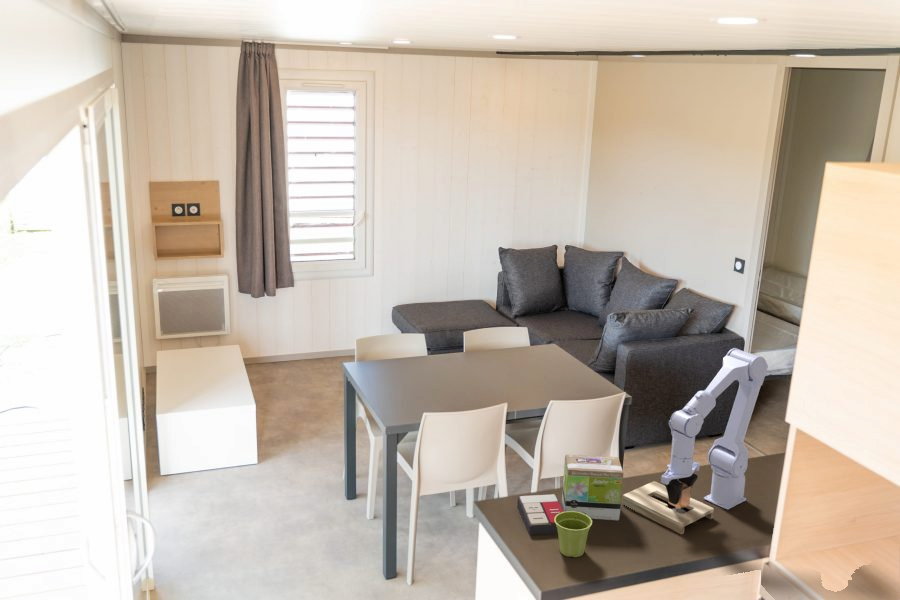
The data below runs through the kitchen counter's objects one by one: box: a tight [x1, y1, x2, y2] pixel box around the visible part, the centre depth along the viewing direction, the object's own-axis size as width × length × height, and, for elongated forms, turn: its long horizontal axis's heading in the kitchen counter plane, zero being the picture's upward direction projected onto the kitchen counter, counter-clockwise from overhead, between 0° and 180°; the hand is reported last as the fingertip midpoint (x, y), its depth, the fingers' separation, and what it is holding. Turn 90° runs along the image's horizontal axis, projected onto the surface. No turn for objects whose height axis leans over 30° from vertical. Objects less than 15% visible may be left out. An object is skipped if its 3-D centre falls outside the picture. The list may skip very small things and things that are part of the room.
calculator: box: [516, 493, 564, 536], centre depth 215 cm, size 11×4×15 cm
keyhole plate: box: [621, 480, 715, 535], centre depth 220 cm, size 14×20×3 cm
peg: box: [667, 481, 692, 514], centre depth 217 cm, size 4×4×9 cm
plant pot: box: [554, 511, 593, 558], centre depth 200 cm, size 9×9×9 cm
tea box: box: [561, 454, 624, 522], centre depth 219 cm, size 15×10×15 cm, turn 87°
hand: (678, 500), depth 217 cm, fingers closed on peg, 4 cm apart
